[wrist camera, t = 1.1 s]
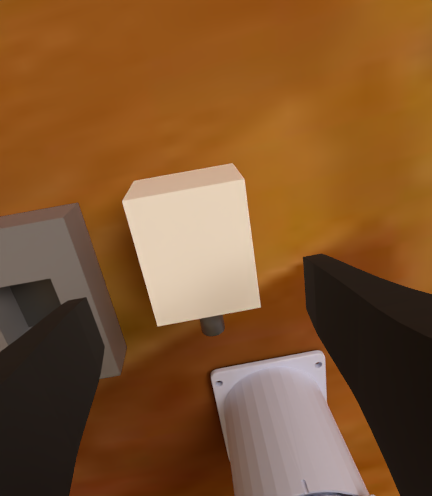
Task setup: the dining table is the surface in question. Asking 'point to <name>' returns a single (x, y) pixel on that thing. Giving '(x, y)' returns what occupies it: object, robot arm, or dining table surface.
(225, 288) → the plug
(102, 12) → the dining table surface
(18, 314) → the socket plate
